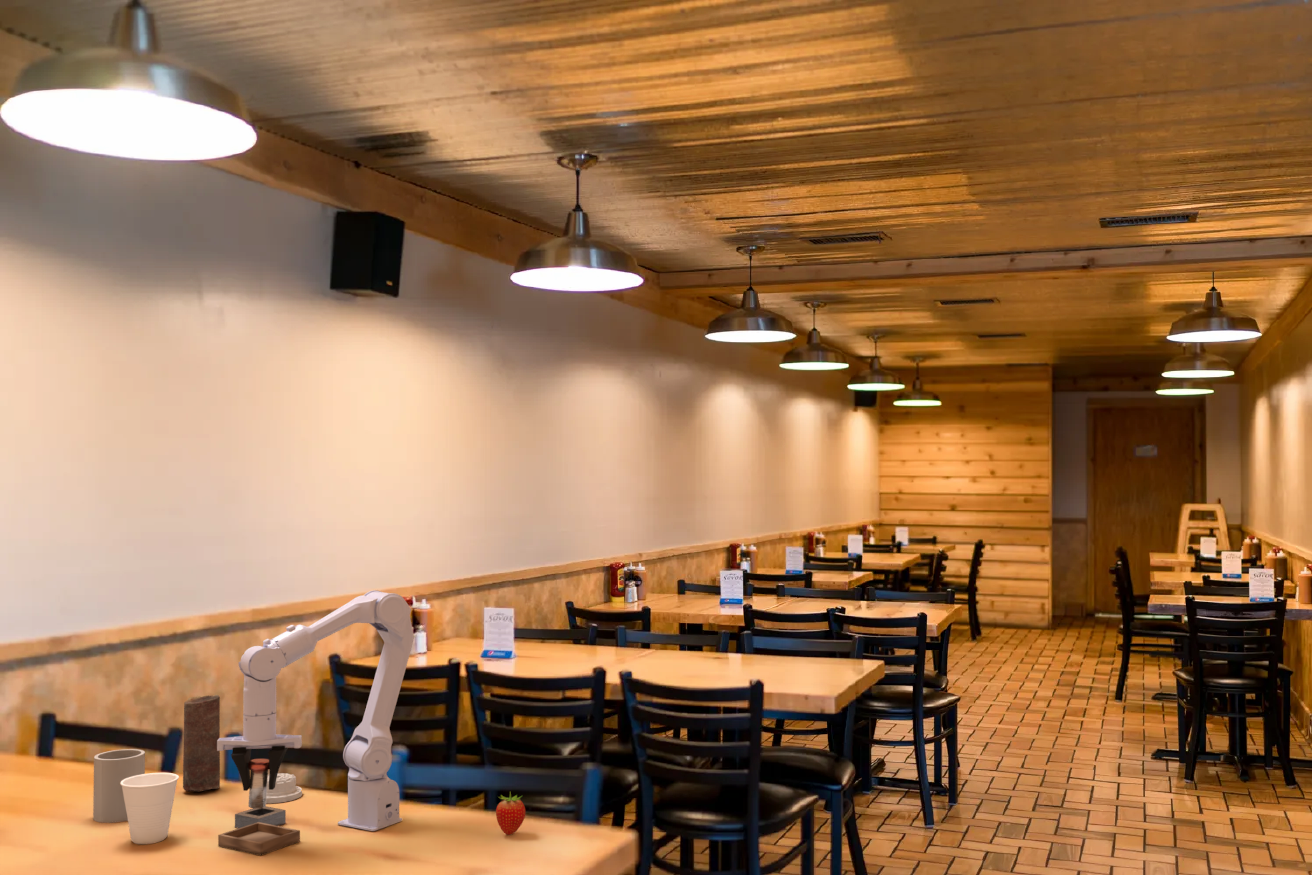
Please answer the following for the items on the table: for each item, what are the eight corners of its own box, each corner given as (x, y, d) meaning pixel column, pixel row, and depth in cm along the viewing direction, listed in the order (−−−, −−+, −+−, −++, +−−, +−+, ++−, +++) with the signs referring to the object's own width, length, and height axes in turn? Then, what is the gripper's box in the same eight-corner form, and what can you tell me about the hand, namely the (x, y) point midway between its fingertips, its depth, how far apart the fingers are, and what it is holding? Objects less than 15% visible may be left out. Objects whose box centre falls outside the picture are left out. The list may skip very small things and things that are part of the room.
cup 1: (82, 819, 224) (83, 757, 224) (120, 807, 232) (120, 747, 233) (117, 824, 221) (118, 761, 221) (154, 811, 229) (155, 751, 230)
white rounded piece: (244, 804, 234) (292, 804, 234) (244, 783, 234) (292, 782, 234) (262, 791, 244) (308, 791, 244) (262, 770, 244) (308, 770, 244)
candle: (211, 795, 240) (211, 699, 241) (176, 796, 241) (177, 699, 241) (225, 786, 248) (225, 693, 249) (191, 786, 248) (192, 693, 249)
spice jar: (271, 802, 211) (273, 758, 211) (265, 809, 207) (268, 765, 207) (248, 801, 210) (251, 758, 210) (243, 808, 206) (245, 764, 206)
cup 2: (121, 851, 204) (121, 788, 205) (118, 836, 213) (119, 776, 213) (181, 842, 209) (181, 781, 209) (176, 828, 218) (176, 769, 218)
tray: (299, 841, 209) (299, 830, 209) (260, 855, 201) (260, 843, 201) (258, 832, 214) (258, 821, 215) (218, 846, 207) (218, 834, 207)
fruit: (513, 828, 215) (513, 785, 216) (530, 834, 212) (530, 791, 212) (490, 835, 212) (490, 791, 212) (507, 841, 208) (507, 796, 208)
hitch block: (285, 823, 220) (285, 809, 220) (258, 832, 215) (258, 818, 215) (262, 818, 224) (262, 805, 224) (234, 827, 218) (234, 813, 218)
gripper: (304, 707, 214) (304, 781, 213) (224, 710, 212) (223, 784, 211) (297, 715, 207) (297, 791, 206) (214, 717, 205) (213, 794, 204)
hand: (259, 788), depth 208 cm, fingers closed on spice jar, 4 cm apart
